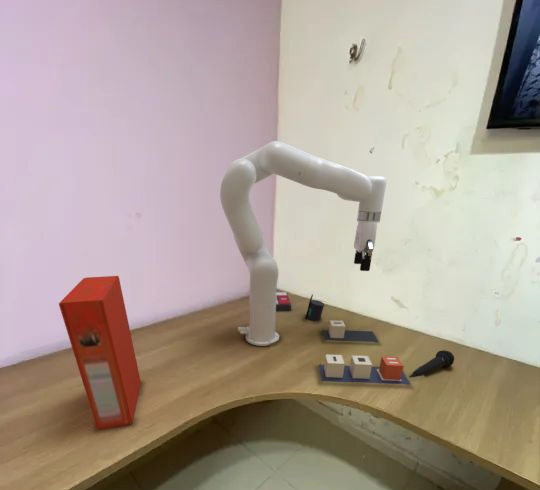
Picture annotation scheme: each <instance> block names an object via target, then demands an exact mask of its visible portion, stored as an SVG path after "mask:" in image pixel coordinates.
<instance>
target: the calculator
mask: <svg viewBox="0 0 540 490" xmlns="http://www.w3.org/2000/svg"><path fill="white" fill-rule="evenodd" d="M291 310H292V304H291V301H290V298H289V294H288V292H285V291H283V292H282V291H279V292H278V291H277V292H276V312H290V311H291Z"/></svg>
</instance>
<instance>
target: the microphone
mask: <svg viewBox="0 0 540 490" xmlns="http://www.w3.org/2000/svg"><path fill="white" fill-rule="evenodd" d="M454 361H455V355H454V354H453V353H452V352H451V351H449V350H445V349H443V350H438V351H437V352H436V354H435V357H433V358H432V359H430V360H429V361H427V362H425V363H424V364H423V365H421V366H419V367H418V368H416V369H415V370H414V371H413V372H412V373H411V374H410V375H409V376H408V378H415V377H421V376H425V375H427V374H429V373H432V372H434V371H436V370H438V369H440V368H442V367H443V368H451V367H452V366H453V364H454V363H455V362H454Z"/></svg>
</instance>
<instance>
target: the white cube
mask: <svg viewBox="0 0 540 490" xmlns="http://www.w3.org/2000/svg"><path fill="white" fill-rule="evenodd" d="M323 363H324V364H323V365H324V371H325V375H326V377H335V378H343V371H344V366H346V365H345V364H346V363H345V361H344V357H343V355H342V354H325V355H324V362H323Z"/></svg>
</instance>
